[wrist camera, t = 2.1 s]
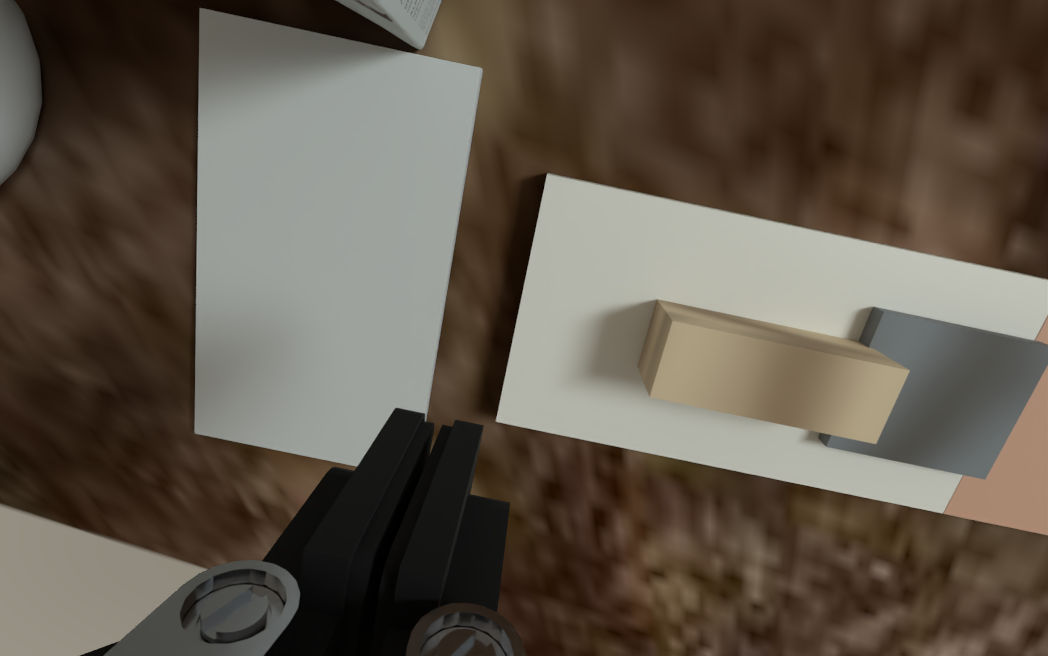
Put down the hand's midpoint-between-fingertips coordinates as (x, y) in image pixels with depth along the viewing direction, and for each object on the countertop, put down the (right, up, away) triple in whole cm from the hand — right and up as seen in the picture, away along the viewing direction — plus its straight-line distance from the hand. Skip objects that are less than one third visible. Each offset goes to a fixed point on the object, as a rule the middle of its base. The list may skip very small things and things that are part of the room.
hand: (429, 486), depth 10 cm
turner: (+13, +1, +11) cm, 17 cm away
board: (+15, +1, +12) cm, 19 cm away
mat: (-6, +5, +12) cm, 14 cm away
